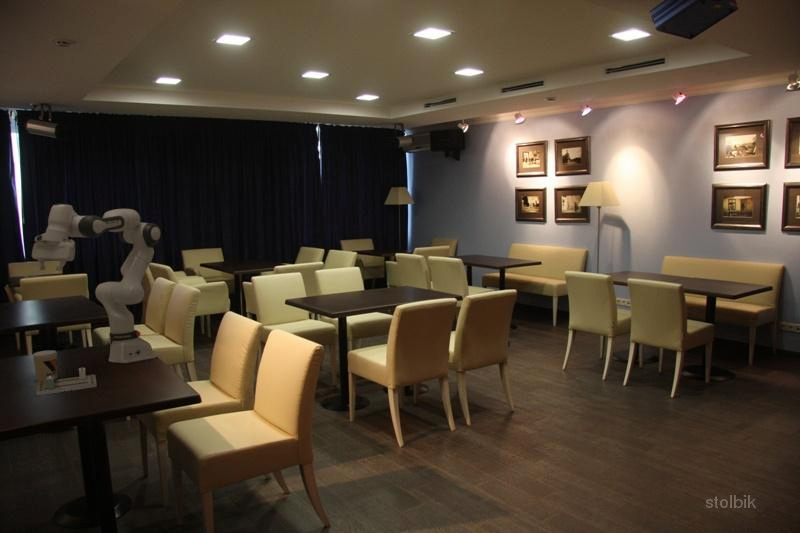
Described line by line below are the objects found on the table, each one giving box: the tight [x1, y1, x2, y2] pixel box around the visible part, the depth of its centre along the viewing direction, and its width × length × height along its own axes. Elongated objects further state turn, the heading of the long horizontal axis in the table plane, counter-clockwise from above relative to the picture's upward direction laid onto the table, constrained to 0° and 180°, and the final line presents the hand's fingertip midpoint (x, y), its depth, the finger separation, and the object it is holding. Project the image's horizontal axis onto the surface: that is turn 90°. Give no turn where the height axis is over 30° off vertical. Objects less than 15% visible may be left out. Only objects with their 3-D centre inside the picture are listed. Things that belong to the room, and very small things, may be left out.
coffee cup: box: [32, 349, 58, 382], centre depth 269 cm, size 9×9×12 cm
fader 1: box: [46, 376, 55, 389], centre depth 251 cm, size 2×4×4 cm, turn 29°
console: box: [36, 373, 98, 396], centre depth 257 cm, size 22×15×2 cm
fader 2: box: [78, 366, 87, 380], centre depth 263 cm, size 2×4×4 cm, turn 29°
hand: (50, 270), depth 260 cm, fingers open, 8 cm apart
